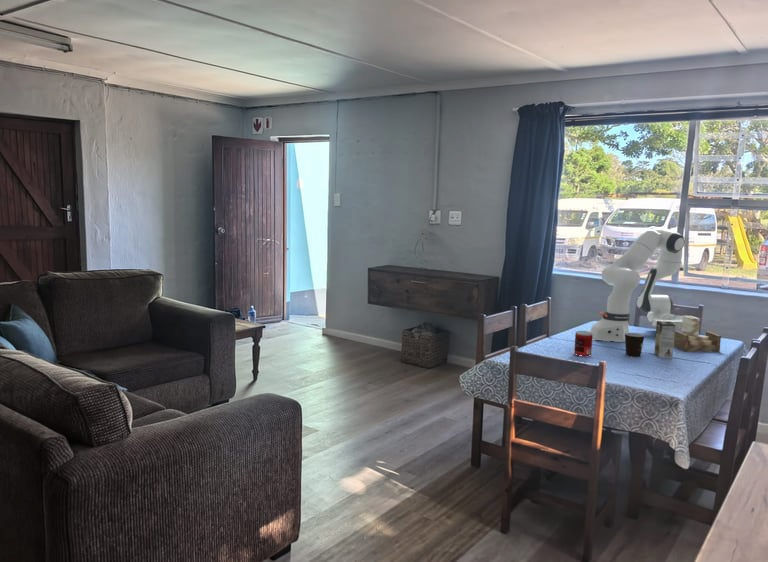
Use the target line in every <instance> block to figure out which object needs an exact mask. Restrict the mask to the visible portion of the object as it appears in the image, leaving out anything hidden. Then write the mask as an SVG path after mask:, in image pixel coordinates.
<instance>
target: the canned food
mask: <svg viewBox="0 0 768 562" xmlns="http://www.w3.org/2000/svg"><path fill="white" fill-rule="evenodd" d="M574 336H575V337H574V352H573V353H574V355H575V354H577V355H582V356H589V355H591V356H592V348H593V347H592V345H593V340H592V336H593V333H592V332H590V331H588V330H577V331H575V335H574Z"/></svg>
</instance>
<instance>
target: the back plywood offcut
mask: <svg viewBox="0 0 768 562" xmlns="http://www.w3.org/2000/svg"><path fill="white" fill-rule="evenodd" d="M688 340H709V337H708V336H706V335H701V336H700V335H698V336H689V338H688Z"/></svg>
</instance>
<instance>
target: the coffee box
mask: <svg viewBox="0 0 768 562" xmlns="http://www.w3.org/2000/svg"><path fill="white" fill-rule="evenodd" d="M655 328H656V330H655V339H654V340H655V342H654V354H655V355H656V356H657V358H659V359H673V357H674V336H675V331H676V328H675V325H674V324H673V323H672V322H667V321H657V326H656V327H655Z"/></svg>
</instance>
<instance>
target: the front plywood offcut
mask: <svg viewBox="0 0 768 562" xmlns="http://www.w3.org/2000/svg"><path fill="white" fill-rule="evenodd" d="M688 345H712V341H710V340H688Z"/></svg>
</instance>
